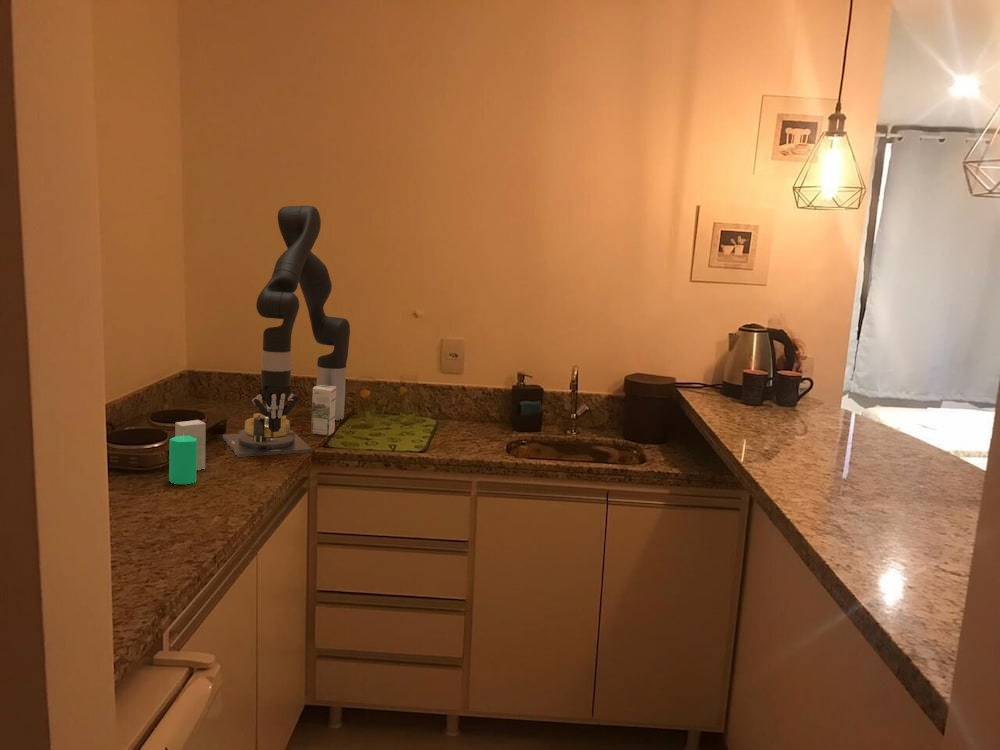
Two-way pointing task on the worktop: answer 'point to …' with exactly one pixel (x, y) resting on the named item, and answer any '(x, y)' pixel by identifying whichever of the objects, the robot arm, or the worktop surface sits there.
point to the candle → (182, 459)
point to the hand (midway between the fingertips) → (274, 431)
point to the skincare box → (196, 431)
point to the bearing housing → (266, 444)
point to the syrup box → (323, 410)
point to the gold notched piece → (264, 428)
